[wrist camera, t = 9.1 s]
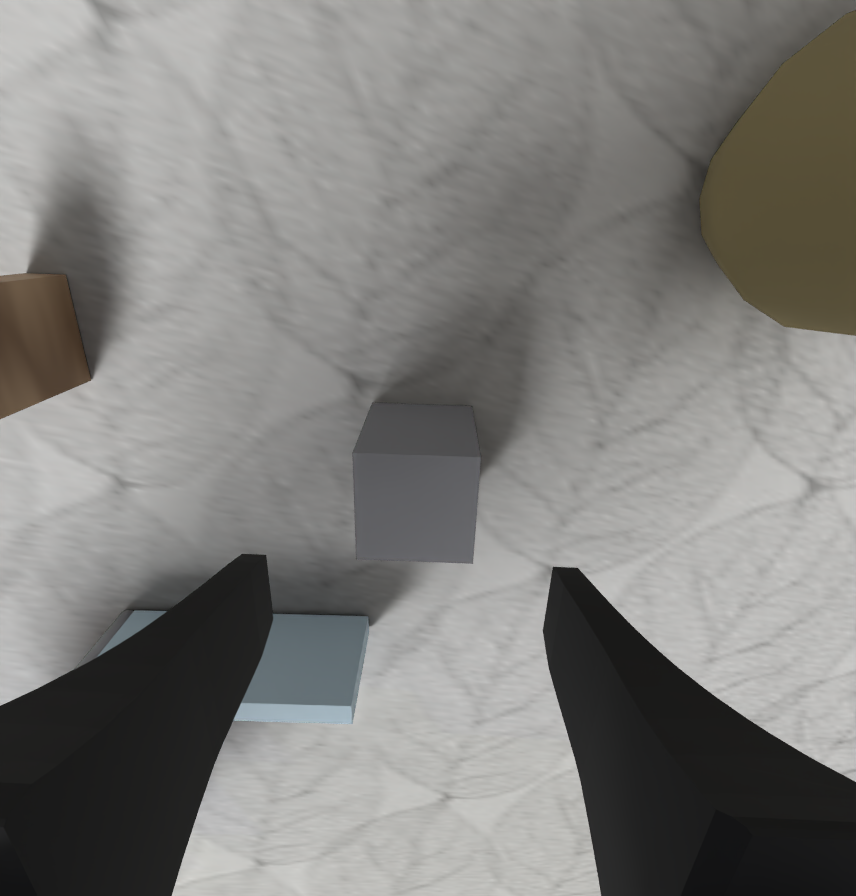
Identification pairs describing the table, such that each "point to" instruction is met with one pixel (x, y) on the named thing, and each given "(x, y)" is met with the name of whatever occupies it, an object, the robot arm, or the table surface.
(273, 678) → the door
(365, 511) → the block
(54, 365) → the door frame
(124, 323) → the table surface
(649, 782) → the robot arm
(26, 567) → the table surface
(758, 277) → the squeeze bottle
